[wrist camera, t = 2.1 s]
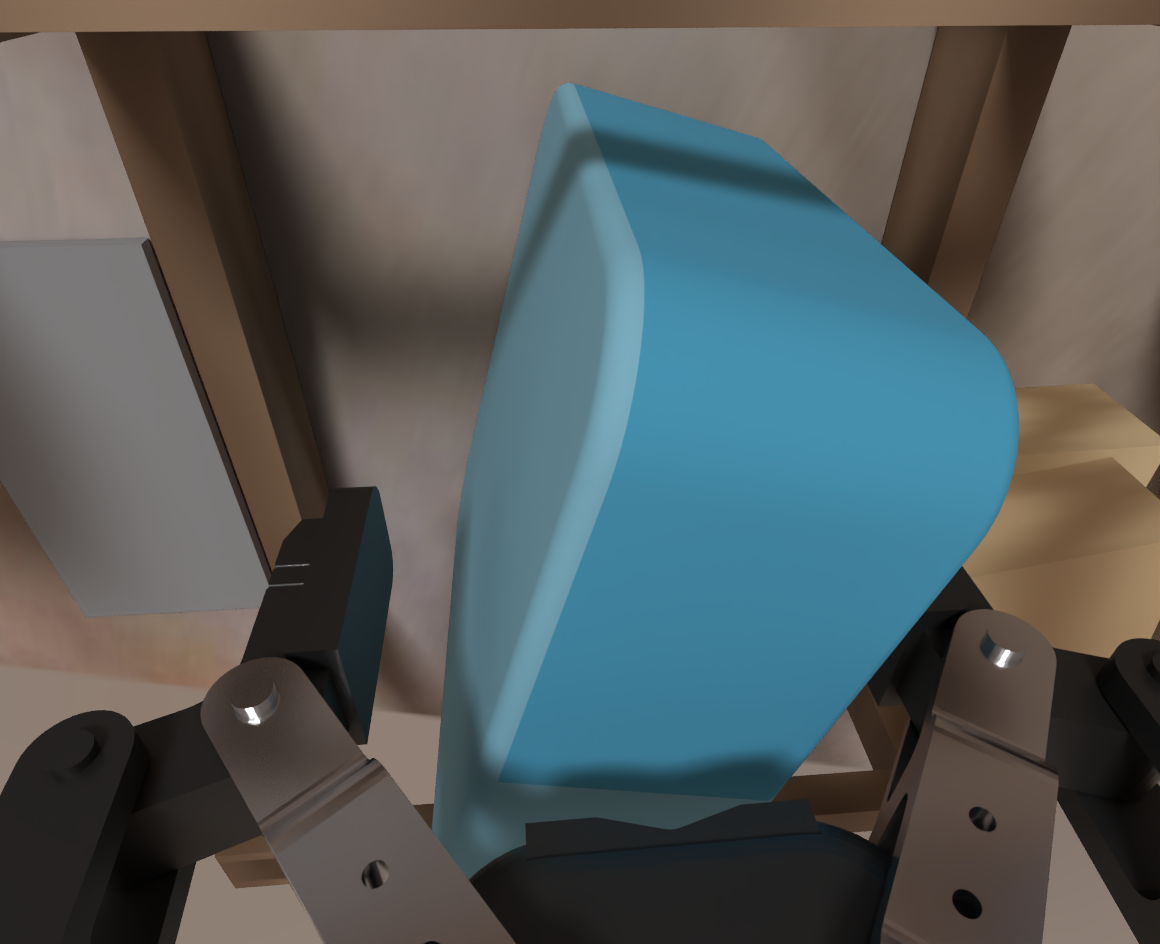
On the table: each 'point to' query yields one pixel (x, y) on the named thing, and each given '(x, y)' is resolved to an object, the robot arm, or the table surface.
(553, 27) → the frame
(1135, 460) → the offcut lower
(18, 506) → the mat
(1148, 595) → the offcut upper
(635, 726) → the blue rounded block
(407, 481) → the table surface
